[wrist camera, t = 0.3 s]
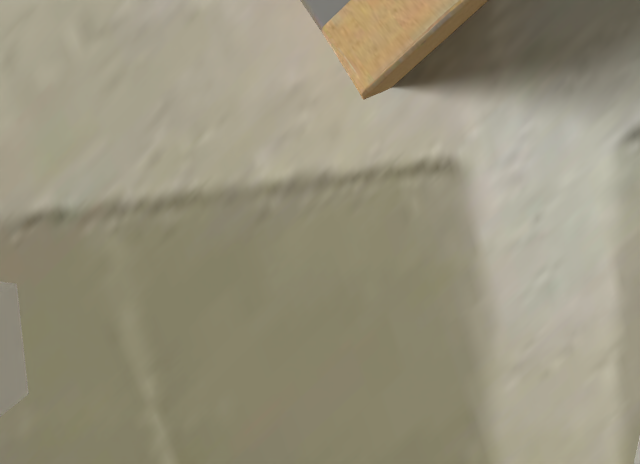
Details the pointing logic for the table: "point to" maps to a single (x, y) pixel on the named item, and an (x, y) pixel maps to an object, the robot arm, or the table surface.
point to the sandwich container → (386, 34)
